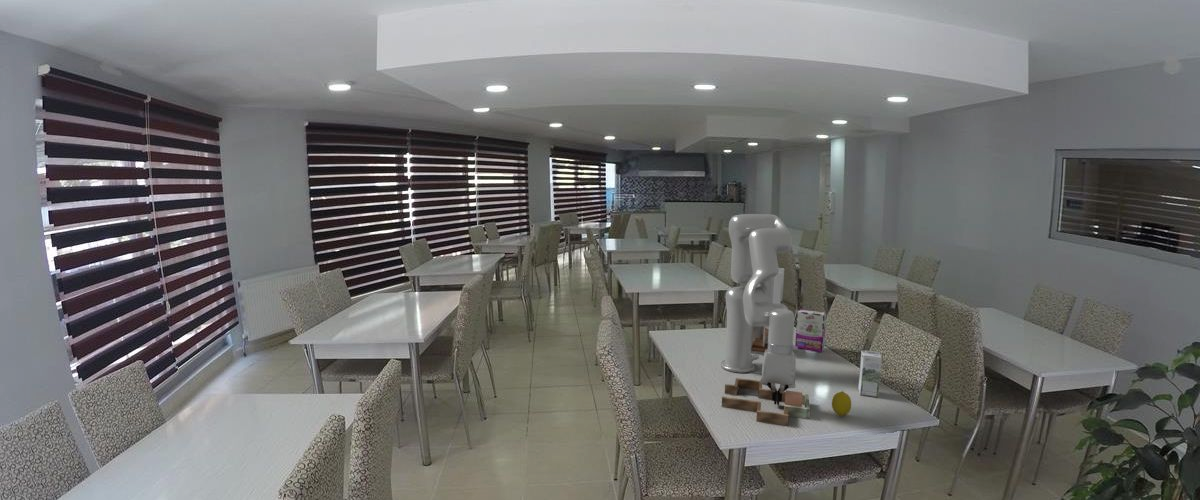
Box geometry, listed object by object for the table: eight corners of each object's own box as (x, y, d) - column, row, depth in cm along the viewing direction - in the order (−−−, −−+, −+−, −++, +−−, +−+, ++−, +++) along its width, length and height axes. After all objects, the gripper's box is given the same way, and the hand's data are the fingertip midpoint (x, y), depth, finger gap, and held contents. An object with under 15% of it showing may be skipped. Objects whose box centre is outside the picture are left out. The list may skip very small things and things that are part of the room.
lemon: (827, 412, 173) (829, 388, 172) (844, 412, 174) (846, 387, 173) (836, 420, 168) (838, 395, 167) (853, 419, 168) (856, 395, 167)
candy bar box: (824, 350, 234) (827, 312, 232) (822, 353, 230) (824, 315, 228) (797, 345, 240) (799, 308, 238) (794, 348, 236) (796, 311, 234)
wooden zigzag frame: (719, 415, 170) (719, 406, 170) (726, 384, 195) (727, 376, 194) (810, 428, 162) (811, 419, 162) (806, 395, 187) (807, 386, 186)
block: (784, 411, 174) (785, 396, 173) (784, 404, 179) (785, 390, 178) (801, 413, 172) (802, 398, 172) (801, 407, 177) (802, 392, 176)
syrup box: (875, 391, 190) (879, 351, 188) (878, 398, 185) (882, 356, 183) (857, 389, 192) (861, 349, 190) (859, 395, 187) (863, 354, 185)
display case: (748, 353, 229) (752, 270, 224) (751, 345, 239) (756, 266, 234) (777, 357, 225) (782, 272, 220) (779, 349, 234) (784, 268, 229)
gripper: (804, 347, 176) (800, 401, 178) (756, 342, 180) (753, 395, 183) (805, 354, 169) (801, 411, 171) (755, 349, 173) (752, 404, 176)
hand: (776, 403), depth 177 cm, fingers closed
